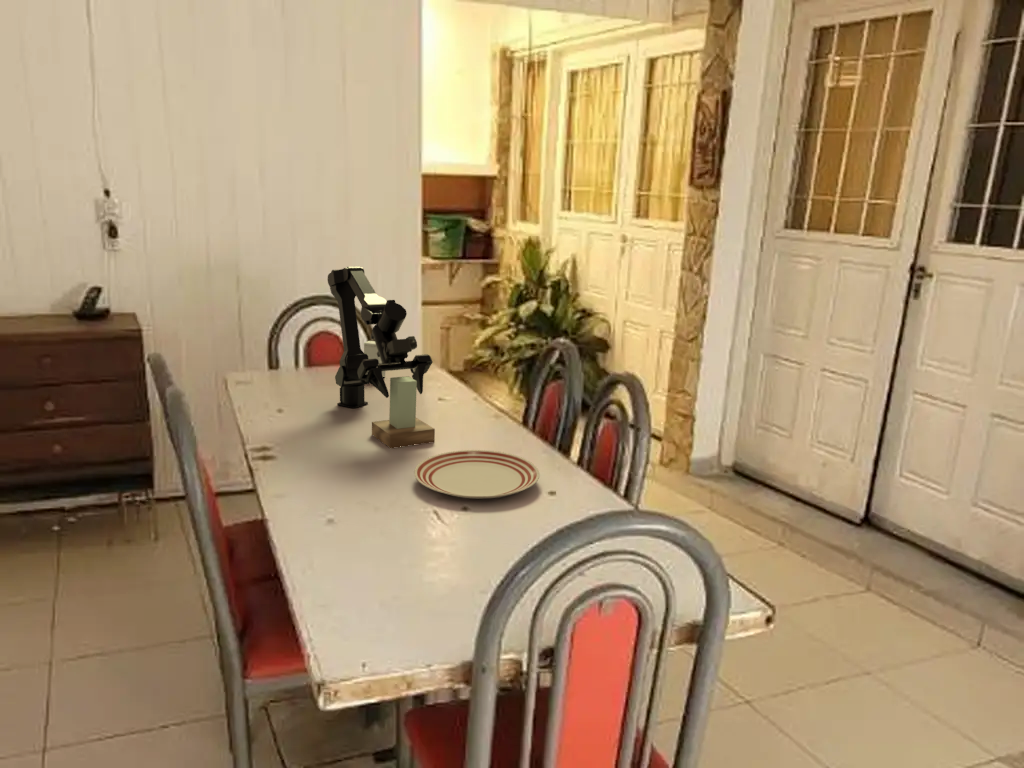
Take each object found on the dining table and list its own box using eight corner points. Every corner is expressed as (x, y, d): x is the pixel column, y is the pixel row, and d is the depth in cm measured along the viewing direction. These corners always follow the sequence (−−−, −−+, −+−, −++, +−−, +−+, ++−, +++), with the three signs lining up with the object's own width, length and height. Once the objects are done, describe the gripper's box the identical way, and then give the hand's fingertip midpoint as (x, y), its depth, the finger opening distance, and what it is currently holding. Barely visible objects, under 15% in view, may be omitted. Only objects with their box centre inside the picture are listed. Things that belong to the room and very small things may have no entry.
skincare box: (363, 378, 269) (363, 342, 266) (369, 375, 273) (369, 340, 270) (380, 380, 267) (380, 344, 264) (386, 377, 271) (386, 342, 268)
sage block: (407, 421, 211) (408, 376, 208) (415, 426, 207) (416, 380, 204) (389, 423, 209) (390, 377, 206) (396, 428, 205) (398, 382, 202)
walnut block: (371, 436, 211) (371, 421, 210) (414, 431, 217) (414, 416, 216) (390, 450, 201) (390, 434, 200) (434, 444, 207) (434, 428, 206)
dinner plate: (526, 514, 165) (527, 499, 164) (396, 499, 170) (397, 484, 169) (548, 469, 191) (548, 456, 190) (435, 458, 196) (435, 444, 195)
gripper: (361, 327, 201) (378, 381, 194) (430, 323, 210) (448, 374, 204) (349, 353, 209) (366, 405, 203) (416, 347, 219) (434, 397, 212)
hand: (404, 395), depth 205 cm, fingers open, 9 cm apart
